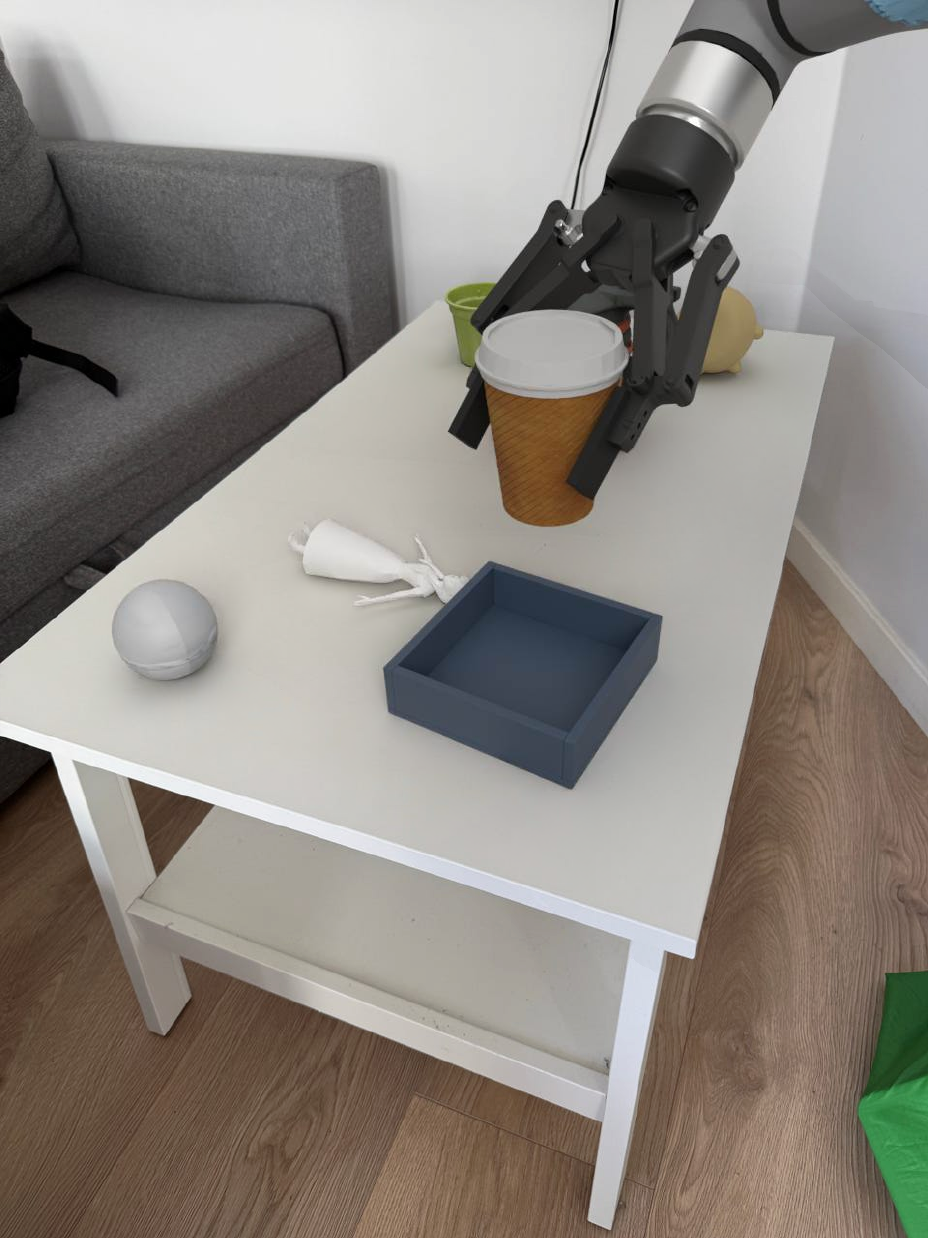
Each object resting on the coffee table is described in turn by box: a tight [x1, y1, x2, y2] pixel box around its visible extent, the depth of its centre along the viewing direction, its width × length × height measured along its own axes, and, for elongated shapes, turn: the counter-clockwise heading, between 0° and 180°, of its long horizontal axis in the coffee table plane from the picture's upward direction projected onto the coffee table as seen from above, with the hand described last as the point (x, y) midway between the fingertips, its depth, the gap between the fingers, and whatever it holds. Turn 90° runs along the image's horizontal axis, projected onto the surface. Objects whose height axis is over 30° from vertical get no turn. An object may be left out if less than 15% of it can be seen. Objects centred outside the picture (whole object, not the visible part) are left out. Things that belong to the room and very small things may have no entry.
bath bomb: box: [111, 578, 219, 681], centre depth 73 cm, size 8×8×8 cm
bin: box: [382, 560, 664, 790], centre depth 70 cm, size 16×16×5 cm
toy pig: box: [676, 285, 765, 375], centre depth 114 cm, size 10×12×11 cm
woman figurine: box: [288, 518, 471, 608], centre depth 82 cm, size 12×4×18 cm
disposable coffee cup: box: [475, 310, 629, 528], centre depth 60 cm, size 10×10×12 cm
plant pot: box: [444, 281, 497, 368], centre depth 119 cm, size 9×9×9 cm
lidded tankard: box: [567, 273, 682, 393], centre depth 98 cm, size 19×15×20 cm
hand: (518, 464), depth 59 cm, fingers closed on disposable coffee cup, 9 cm apart
